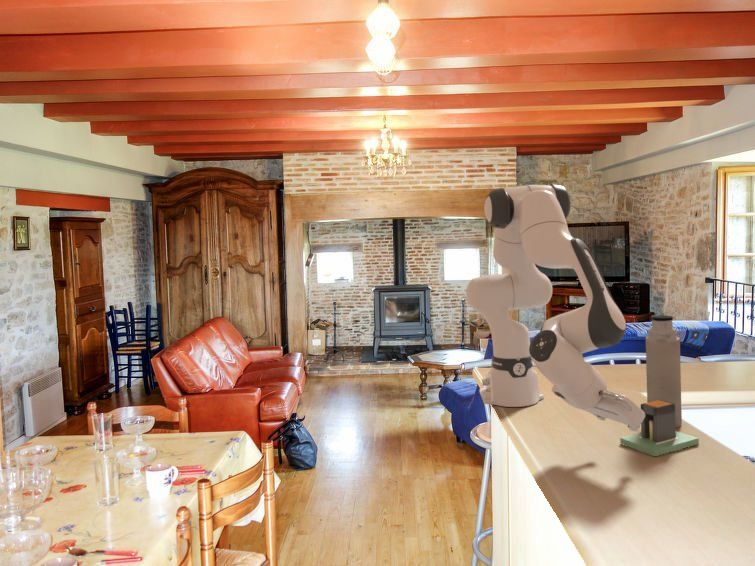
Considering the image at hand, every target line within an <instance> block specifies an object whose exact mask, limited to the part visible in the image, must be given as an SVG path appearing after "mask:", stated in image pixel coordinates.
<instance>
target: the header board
mask: <svg viewBox="0 0 755 566" xmlns="http://www.w3.org/2000/svg"><path fill="white" fill-rule="evenodd" d="M649 426H650V437H648V438H642V436H641V432H638V433H637V432H636V433H634V434H629V435H626V436H621V437H619V439H620V443H622V444H624V445H627V446H630V447H632V448H631V449H633V448H635V449H637V450H636V451H638V450H640V451H639V452H641V451H643V452H645V453H644V454H646V453H648V454H647V455H649V454H650V455H649V456H651V455H652V456H651V457H654V456H657V457H660V456H659V455H661V456H663V455H662V454H664V455H667V454H666V453H668V454H670V453H669V452H671V453H674V452H673V451H675V452H677V451H676V450H678V451H680V450H679V449H681V450H683V449H682V448H685V449H687V448H686V447H688V448H691V447H690V446H692V447H694V446H693V445H695V446H698V444H700V443H699V442H700V440H699V437H696V436H694V435H690V434H687V433H684V432H680V431H677V430H676V438H673V439H670V440H666V441H662V442H659V443H656V442H654V421H652V420H650V421H649ZM622 444H621V445H622ZM624 445H623V446H624ZM627 446H626V447H627ZM630 447H629V448H630ZM635 449H634V450H635ZM643 452H642V453H643Z"/></svg>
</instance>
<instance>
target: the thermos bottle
mask: <svg viewBox="0 0 755 566" xmlns="http://www.w3.org/2000/svg"><path fill="white" fill-rule="evenodd" d="M673 319H674V317H673V316H671V315H661V314H660V315H651V320H652V321H651V327H649V328H648V329H647V334H648V336H646V337H645V365H646V367H645V370H646V371H645V372H646V373H645V374H646V401H647V402H646V403H648V402H652V401H656V400H661V401H665V402H668V403H672V404H675V422H676V428H679V427H681V426H682V424H683V421H682V420H683V418H682V417H683V416H682V378H681V377H682V374H681V373H682V371H681V370H682V368H681V338H680V337H678V335H677V334H678V331H677V328H675V327H673V326H674V324H673V323H674V322H673Z"/></svg>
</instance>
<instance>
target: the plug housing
mask: <svg viewBox="0 0 755 566" xmlns="http://www.w3.org/2000/svg"><path fill="white" fill-rule="evenodd" d="M640 409H642V410H643V411H644V413H645V418H644V420H643V422H642V423H641V425H640V428H641V429H640V430H641V432H640V433H641V436H642V438H648V437H650V426H649V421H650V420H652V421H654V442H656V443H659V442H662V441H666V440H670V439H673V438H676V431H677V429H676V428H677V427H676V422H675V404H672V403H668V402H665V401H661V400H656V401H652V402H648V403H647V402H645V403H644V402H643V403H641V404H640Z"/></svg>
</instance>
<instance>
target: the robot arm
mask: <svg viewBox="0 0 755 566" xmlns="http://www.w3.org/2000/svg"><path fill="white" fill-rule="evenodd" d="M570 198H571V197H570V194H569V192H568V190H567V189H566V188H565V187H564V186H563V185H559V184H553V183H552V184H551V183H550V184H547V185H546V184H526V185H518V186H511V187H506V188H504V187H500V188H496V189H495V188H494V189H493V190H491V191H490V192H488V194H487V196H486V197H485V202H484V206H483V208H484V214H485V215H484V216H485V217H486V221H487V224H489V226H491V227H492V228H494V240H493V241H494V242H493V258H494V260H495V263H497V264H498V265H499V266H501V267H502V268H504V269H506V270H508V271H510V272H507V273H502V274H501V273H499V274H486V275H483V276H478V277H474V278H472V279H471V280H470V281H469V283H468V285H467V287H466V290H465V297H466V301H467V303H468V305H469V306H470V307H471V309H472V310H474V311H476V312H477V313H479V314H480V315H481V316H482V318H483V319H484V320H485V321H486V323H487V324H488V327H489V329H490V330H489V331H490V334H491V341H492V342H491V343H492V353H493V354H492V356H491V364H490V365H491V368H490V369H489V371H488V372H487V373H486V375H485V377H484V378H481V379H482V382H481V383H482V386H485V387H481V388H479V390H478V391H479V394H480V397H481V401H482V402H483V404H484V405H492V406H493V405H495V406H499V407H507V408H518V407H519V408H520V407H528V406H533V405H535V404H537V403H539V401H541V400H543V399H544V398H545V395H544V394H543V393H540V386H539V379H538V378H539V376H538V372H537V371H536V370H534V369H533V367H534V365H535V367H536V368H537V369H538V370H539V372H540V373H541V374H542V375H543V376H544V377H545V378H546V379H547V381H549V382H550V383H551V384H552V385H553V386H552V387H551V392H552V394H554V395H555V396H557V397H559V398H561V399H562V400H563V401H564V402H566V403H567V405H569V406H571V407H573V408H575V409H578V410H581V411H583V412H584V411H585V412H587V413H589V414H591V415H593V416H595V418H597V419H598V420H600V421H602V422H603V421H606V419H608V420H611V421H614V422H617V423H620V424H623V425H627V428H628V429H629V430H630V431H633V432H635V433H637V432H639V430H640V428H641V423H642V422H643V420H644V418H645V413H644V411H643V410H642V409H641V407H639V405H637V404H636V403H635V402H634V401H633V400H631V399H630V398H629V397H628V396H626V395H624V394H622V393H619V392H615V391H611V390H608V389H607V388H608V383H607V380H606V379H605V378H604V377H603V376H602V375H601V373H600V372H599V371H598V370H597V369H596V368H595V367H594V366H593V365H592V364H591V363H590V362H587V361H586V360H585V359H584V356H583V354H586V353H588V352H592V351H595V350H598V349H599V350H600V349H604V348H609V347H614V346H617V345H619V344H620V343H621V341H622V340H623V338H624V336H625V334H626V331H627V322H626V319H625V316H624V314H623V313H622V310H621V309H620V307H619V306H618V304H617V302H616V301H615V299H614V297H613V296H612V293H611V290H610V289H609V287H608V285H607V282H606V281H605V278H604V275H603V274H602V272H601V270H600V267H599V266H598V265H599V264H597V262H596V259H595V258H594V256H593V254H592V252H591V249H590V248H589V247H588V246H587V244H586V243H585V242H584V241H583V240H581V239H579V238H575V237H573V236H572V235H571V232H570V230H569V227H568V223H567V218H568V217H569V215H570V212H571V210H570V209H571V199H570ZM537 266H539V267H542V268H546V269H552V270H553V269H571V270H574V272H575V273H576V276H577V278H578V280H579V282H580V285H581V287H582V288H583V291H584V294H585V296H586V298H587V301H586V302H585V304H584V305H583V306H580V307H578V308H575V309H572V310H569V311H567V312H563V313H560V314H557V315H555V316H552V317H550V318H548V319H546V320H544V322H543V323H542V325H541V327H540V329H539V330H540V331H539V332H538V333H537V334H535V335H534V336H533V337H532V339H531V337H530V336H531V334H530V330H529V328H528V327H527V326H526V325H525V324H523V323H521V322H520V321H517V320H515V319H513V318H511V316H510V311H514V310H516V311H517V310H531V309H534V308H535V309H536V308H539V307H542V306H546V305H547V304H548V303H549V302H550V301H551V298H552V296H553V290H554V289H553V284H552V282H551V279H549V277H548V276H547V274H544V273H543V272H541V270H539V269H538V267H537ZM533 364H534V365H533Z"/></svg>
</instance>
